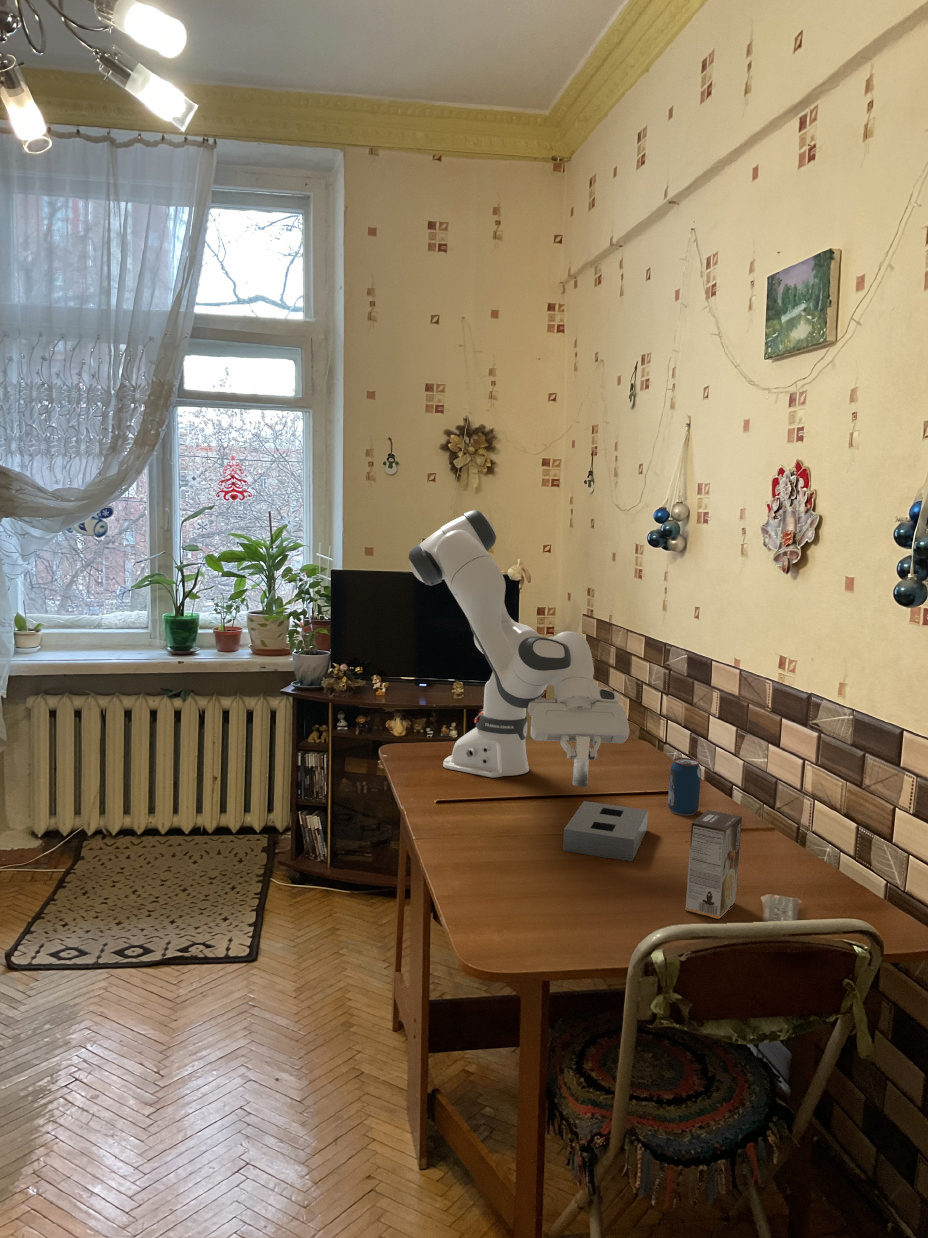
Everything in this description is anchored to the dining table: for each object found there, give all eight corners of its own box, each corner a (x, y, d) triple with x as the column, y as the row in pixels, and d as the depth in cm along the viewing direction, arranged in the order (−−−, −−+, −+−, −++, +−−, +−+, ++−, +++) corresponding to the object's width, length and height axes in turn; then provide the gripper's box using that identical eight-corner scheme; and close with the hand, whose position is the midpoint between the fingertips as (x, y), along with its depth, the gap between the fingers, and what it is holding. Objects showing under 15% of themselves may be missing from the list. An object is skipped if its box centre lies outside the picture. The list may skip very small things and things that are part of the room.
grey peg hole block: (562, 850, 190) (564, 829, 190) (582, 820, 209) (583, 801, 208) (632, 861, 186) (634, 839, 185) (646, 830, 205) (647, 810, 204)
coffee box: (701, 894, 171) (707, 808, 169) (736, 903, 168) (743, 816, 166) (684, 911, 163) (690, 821, 162) (720, 921, 160) (727, 829, 158)
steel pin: (570, 785, 191) (574, 737, 190) (574, 781, 194) (577, 733, 192) (585, 787, 190) (588, 738, 189) (588, 783, 193) (591, 735, 191)
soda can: (703, 812, 219) (707, 761, 217) (688, 818, 214) (692, 766, 212) (677, 804, 224) (680, 755, 222) (661, 810, 218) (665, 760, 217)
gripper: (529, 690, 196) (533, 748, 187) (626, 693, 197) (635, 751, 189) (525, 707, 201) (529, 764, 192) (620, 710, 202) (628, 767, 194)
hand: (582, 758), depth 190 cm, fingers closed on steel pin, 3 cm apart
